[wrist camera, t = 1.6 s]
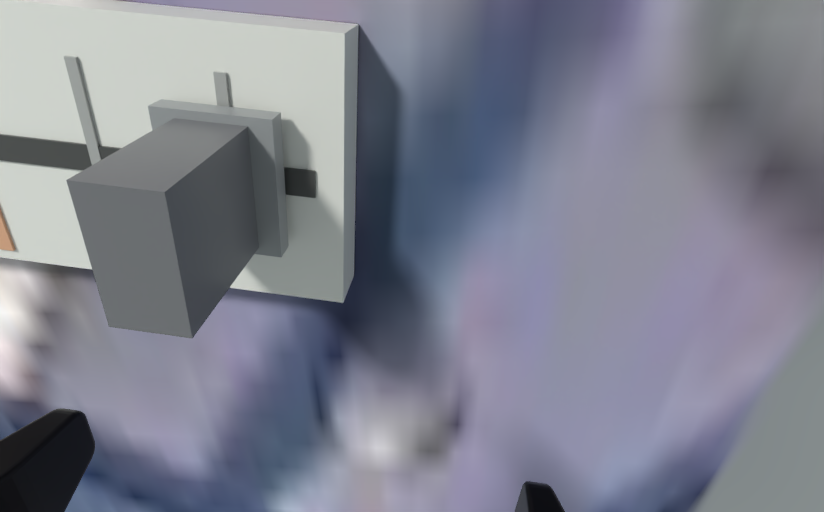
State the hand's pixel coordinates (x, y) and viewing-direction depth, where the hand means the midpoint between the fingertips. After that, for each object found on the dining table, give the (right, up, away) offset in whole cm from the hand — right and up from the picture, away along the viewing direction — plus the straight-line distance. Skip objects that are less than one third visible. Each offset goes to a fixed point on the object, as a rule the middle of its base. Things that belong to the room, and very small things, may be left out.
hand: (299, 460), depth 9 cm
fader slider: (-4, +6, +10) cm, 12 cm away
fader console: (-10, +8, +12) cm, 18 cm away
